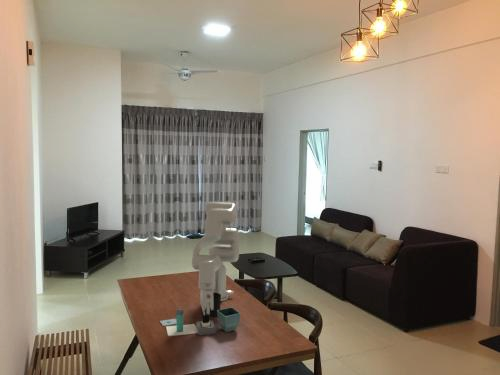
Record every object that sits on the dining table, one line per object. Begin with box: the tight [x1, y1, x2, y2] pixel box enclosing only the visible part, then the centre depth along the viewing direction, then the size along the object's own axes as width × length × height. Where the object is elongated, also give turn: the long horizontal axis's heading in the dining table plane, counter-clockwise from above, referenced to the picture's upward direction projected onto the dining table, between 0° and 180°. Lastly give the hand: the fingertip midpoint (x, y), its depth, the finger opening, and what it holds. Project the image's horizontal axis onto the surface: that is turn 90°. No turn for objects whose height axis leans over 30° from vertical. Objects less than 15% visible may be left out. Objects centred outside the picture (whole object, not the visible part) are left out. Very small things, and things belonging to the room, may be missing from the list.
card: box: [159, 318, 176, 327], centre depth 205 cm, size 8×6×1 cm
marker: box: [175, 307, 184, 332], centre depth 195 cm, size 3×3×10 cm
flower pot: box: [216, 306, 242, 333], centre depth 199 cm, size 9×9×9 cm
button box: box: [195, 320, 216, 336], centre depth 197 cm, size 8×8×3 cm
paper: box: [165, 323, 198, 337], centre depth 197 cm, size 14×10×1 cm
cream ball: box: [202, 320, 211, 327], centre depth 197 cm, size 4×4×4 cm
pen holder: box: [209, 293, 222, 317], centre depth 218 cm, size 9×9×10 cm
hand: (205, 322), depth 196 cm, fingers closed
